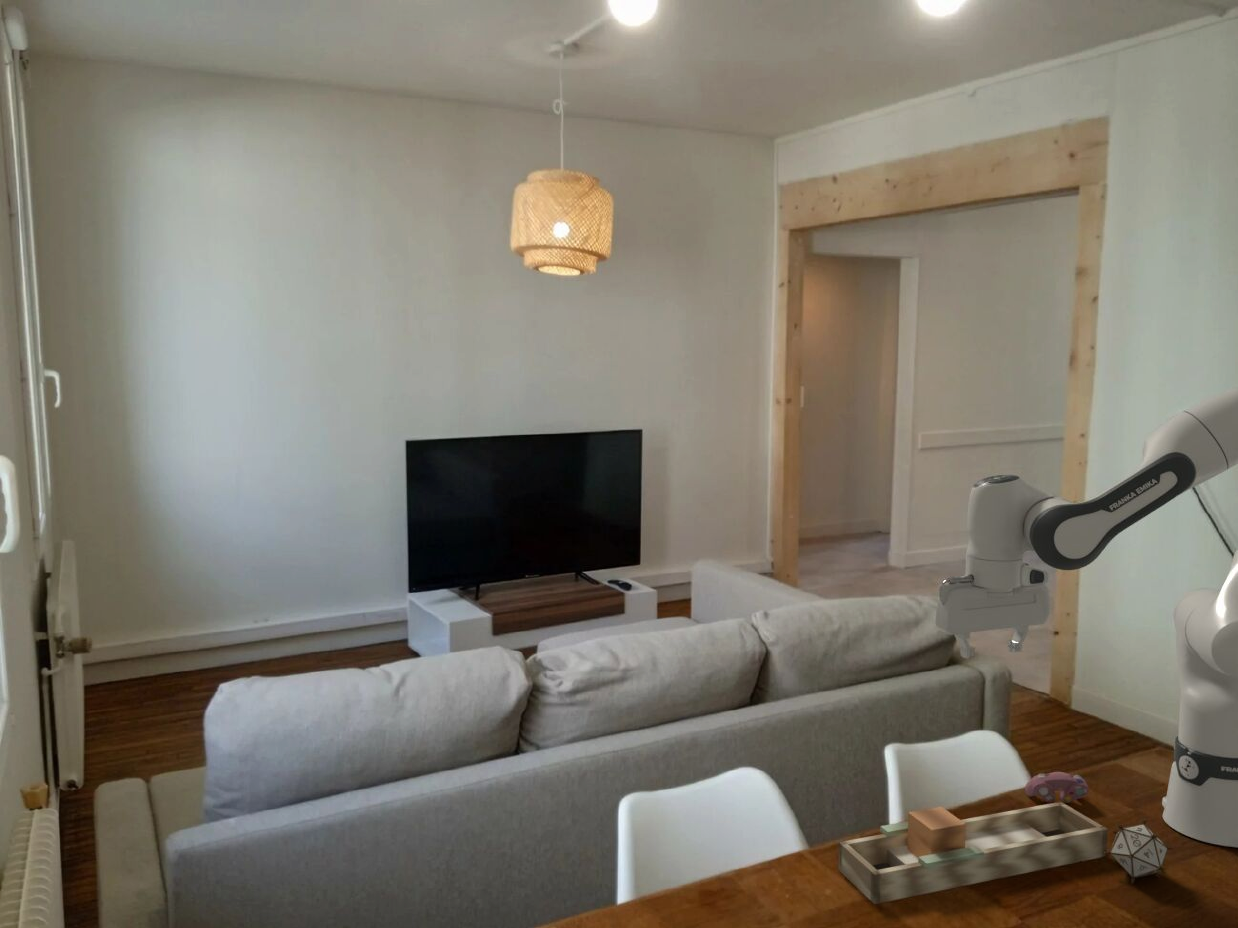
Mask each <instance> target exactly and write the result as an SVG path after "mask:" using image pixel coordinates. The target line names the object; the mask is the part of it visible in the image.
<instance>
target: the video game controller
mask: <svg viewBox="0 0 1238 928" xmlns="http://www.w3.org/2000/svg"><path fill="white" fill-rule="evenodd" d="M1024 791H1025V794H1026V795H1027V797H1030V798H1032V797H1036V796H1039V797H1040V798H1041V799H1042V801H1043V802H1044V801H1049V802H1048V803H1052V802H1053V803H1054V802H1055V801H1056V799H1057V798H1056V797H1057V796H1056V792H1055V791H1057V792H1058V791H1060V793H1059V798H1060V801H1061V802H1062V803H1064V804H1071V803H1074V801H1076V800H1078V799H1083V798H1084V797H1085V796H1087V795H1088V794H1089V793H1090V788H1089V785H1088V783H1087V782H1086V780H1085V779H1084V778H1082V776H1081V775H1079V774H1075V775H1073V774H1070V773H1067V772H1063V771H1053V772H1049V773H1041V772H1040V773H1038V774H1037V775H1035V776H1033V777H1032V778H1031V779H1030V780H1029V781H1028V782H1026V784H1025V790H1024Z"/></svg>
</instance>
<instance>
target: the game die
mask: <svg viewBox="0 0 1238 928" xmlns="http://www.w3.org/2000/svg"><path fill="white" fill-rule="evenodd" d="M1141 821H1142V823H1140V824H1136V825H1130V826H1126V827H1123V826H1122V824H1119V823H1118V824H1117V827H1118V829H1119V830H1117V829H1112V832H1113V834H1114V835H1115V837H1114V839H1113V841H1112V845H1111V846H1110V849H1109V850H1107V852H1106V851H1105V852H1104V853H1103V854H1105V855H1106V856H1109V855H1110V856H1111V857H1112V858H1113V859H1114V860H1115V861H1116V862H1117V863H1118V865H1120V867H1121V868H1122V869H1123V870H1124V871H1125V872H1126V873H1127V874H1128V875H1129V876H1130V877H1131V879H1130V882H1131V884H1134V883H1135V878H1140V877H1145V876H1149V875H1153V874H1154V876H1155V877H1157V878H1160V874H1159V871H1161V873H1165V874H1166V869H1165V868H1164V867H1163V864H1164V862H1165V859H1166V857H1167V853H1168V851H1173V849H1174V848H1175V846H1174V847H1173V846H1167V845H1166V844H1165V843H1164V842H1163V841H1162V840H1161V839H1160V838H1159V837H1158V836H1157V834H1156V833H1154V832H1153V831H1152V830H1151V829H1150V828H1149V827H1148V826H1147V825H1146V824H1147V819H1146V818H1143V819H1142V820H1141Z"/></svg>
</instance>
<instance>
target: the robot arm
mask: <svg viewBox="0 0 1238 928" xmlns="http://www.w3.org/2000/svg"><path fill="white" fill-rule="evenodd" d="M1141 454H1142V459H1141V462H1140V464H1139V465H1138V467H1137V468H1136V469H1135V470H1134V471H1132V473H1130V474H1129V475H1127V476H1126V477H1124V478H1123V479H1120V481H1118V482H1116V483H1115V484H1113V485H1111V486H1109V487H1108V488H1106V489H1105V490H1103V491H1102V492H1100V493H1098V494H1097V495H1096V496H1093V497H1092V498H1091V499H1087V500H1084V501H1080V502H1072V501H1070V500H1068V499H1066V498H1064V497H1062V496H1061V497H1060V496H1059V495H1055V494H1051V493H1049V492H1046V491H1044V490H1042V489H1039V488H1037V487H1035V486H1034V485H1032V484H1029V483H1028V482H1026V481H1025V480H1023V479H1022V477H1020V476H1018V475H1014V474H1000V475H999V474H998V475H993V476H987V477H984V478H981V479H979V480H978V481H977V482H975V483H974V484H973V486H972V488H971V490H970V494H969V499H968V507H967V517H966V518H967V520H966V531H967V535H968V546H967V548H966V551H965V574H964V575H960V576H948V577H947V578H946V579H945V580H944V581H943V582H942V583H941V584H940V585H939V590H938V598H937V605H936V613H935V618H934V619H935V621H934V622H935V623H934V624H935V626H936V628H937V629H938V631H940V632H943V633H945V634H948V635H954V637H955V639H956V641H957V643H958V645H959V646H960V648H959V649H960V651H959V652H960V653H959V654H960V656H961V657H962V658H964V659H973V658H974V657H975V651H976V650H975V649H976V648H975V647H973V646H971V645H970V643H969V640H968V639H970V638H971V633H977V632H986V631H993V630H994V631H995V630H1004V629H1013V630H1015V631H1014V633H1013V635H1012V638H1011V639H1008V640H1007V650H1008V651H1009V652H1010V653H1021V652H1022V651H1023V642H1024V641H1025V639H1026V637H1027V636H1028V634H1029V629H1030V627H1032V626H1040V625H1045V623H1046V622H1047V621H1048V619H1049V616H1050V590H1049V588H1048V586H1047V585H1046V584H1047V583H1048V582H1049V577H1050V575H1049V572H1048V571H1047V570H1045V569H1042V568H1040V567H1036V566H1033V565H1030V564H1029V563H1025V562H1024V554H1025V553H1026V552H1035V554H1036V555H1037V556H1038V557H1039V559H1040V560H1041V561H1042V562H1043V563H1045V564H1046V565H1047V566H1049V567H1051V568H1054V569H1057V570H1060V571H1061V570H1062V571H1074V570H1075V571H1076V570H1079V569H1082V568H1085V567H1087V566H1088V565H1090V564H1092V563H1093V562H1094V561H1095V560H1096V559H1098V557H1099V556H1100V555H1101V553H1102V552H1103V551H1104V550H1105V548H1106V547H1107V546H1108V545H1109V544H1110V542H1111V541H1112V540H1113V539H1115V537H1116V536H1118V535H1119V534H1120V533H1122V532H1123V531H1124V530H1126V529H1128V528H1130V527H1131V526H1133V525H1135V523H1138V522H1139V521H1140V520H1142V519H1144V518H1145V517H1147V516H1149V515H1150V514H1152V513H1153V512H1155V511H1156V510H1158V509H1160V508H1161V507H1163V506H1164V505H1166V504H1168V503H1169V502H1170V501H1173V500H1174V499H1175V498H1176V497H1178V496H1181V495H1182V494H1185V492H1187V491H1188V490H1190V489H1192V488H1195V487H1197V486H1199V485H1201V484H1203V483H1205V482H1208V480H1212V478H1215V477H1217V476H1218V475H1220V474H1223V473H1224V472H1226V471H1228V470H1229V469H1230V468H1233V467H1234V466H1236V465H1237V464H1238V387H1236V388H1233V389H1229V390H1227V391H1223V392H1221V393H1219V394H1215V395H1214V396H1211V397H1209V398H1207V399H1204V400H1202V401H1200V402H1198V403H1196V404H1194V405H1192V406H1191V407H1189V408H1187V409H1185V410H1183V411H1181V412H1179V413H1178V414H1176V415H1174V416H1172V417H1171V418H1169V419H1168V420H1166V421H1165V422H1164V423H1162V424H1160V425H1159V426H1158V427H1157V428H1156V429H1154V430H1153V431H1152V432H1151V433H1149V435H1147V437H1146V438H1145V441H1144V443H1143V446H1142V453H1141ZM1173 619H1174V627H1175V628H1174V629H1175V645H1176V661H1177V670H1178V671H1177V672H1178V680H1179V681H1178V682H1179V691H1180V692H1179V695H1180V696H1179V713H1178V714H1179V715H1178V717H1179V718H1178V732H1177V736H1176V737H1175V740H1174V744H1173V750H1174V752H1173V759H1174V761H1173V763H1172V765H1171V770H1170V773H1169V774H1170V775H1169V779H1168V786H1167V792H1166V796H1164V797H1162V799H1161V801H1162V802H1161V804H1162V807H1163V813H1162V819H1163V820H1164V822H1165V823H1166V824H1167V825H1168V826H1169V827H1171V828H1172V829H1174V830H1175V831H1176V832H1178V833H1180V834H1182V835H1185V836H1187V837H1190V838H1192V839H1195V840H1197V841H1201V842H1204V843H1209V844H1212V845H1218V846H1224V847H1232V848H1238V549H1236V551H1235V552H1234V554H1233V557H1232V563H1231V567H1230V569H1229V571H1228V573H1227V576H1226V579H1224V582H1223V584H1222V587H1221V589H1215V588H1196V589H1193V590H1189V591H1187V592H1186V593H1185V594H1183V595H1182V596H1181V597H1180V598H1179V599H1178V600H1177V602H1176V604H1175V606H1174V610H1173Z"/></svg>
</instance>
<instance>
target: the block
mask: <svg viewBox="0 0 1238 928" xmlns="http://www.w3.org/2000/svg"><path fill="white" fill-rule="evenodd" d="M961 820H962V819H960V818H958V817H957V816H955V815H954V814H953V813H951V812H950V811H949V810H947V809H945V808H944V807H943V806H938V807H932V808H926V809H919V810H914V811H908V812H907V821H908V844H907V849H908V850H909V851H910V852H911V853H913V854H914V855H915V856H916V857H920V856H926V855H931V854H936V853H941V852H946V851H952V850H957V849H962V848H965V834H966V824H965V823H964V822H962V821H961Z"/></svg>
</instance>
